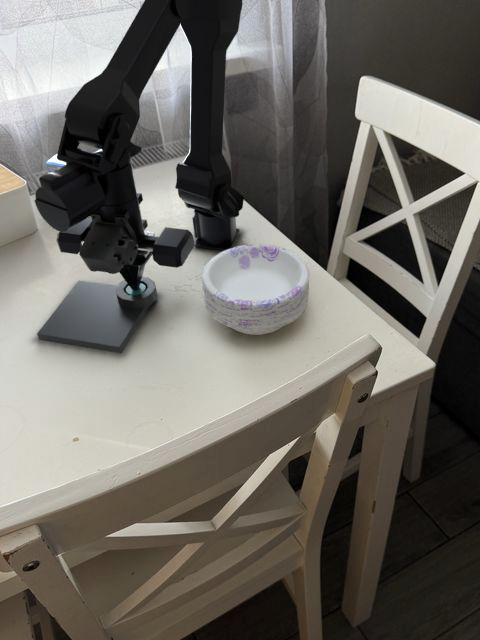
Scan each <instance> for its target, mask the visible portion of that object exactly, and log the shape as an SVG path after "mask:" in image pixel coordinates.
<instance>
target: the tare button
mask: <svg viewBox="0 0 480 640" xmlns="http://www.w3.org/2000/svg"><path fill="white" fill-rule="evenodd" d="M145 291H146V286H145V285H144V284H142V283H140V287H139V288H138V290H132V289H131V288H130V286H128V287H127V288H126V293H127V295H132V296H135V295H140V294H142V293H144V292H145Z"/></svg>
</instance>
